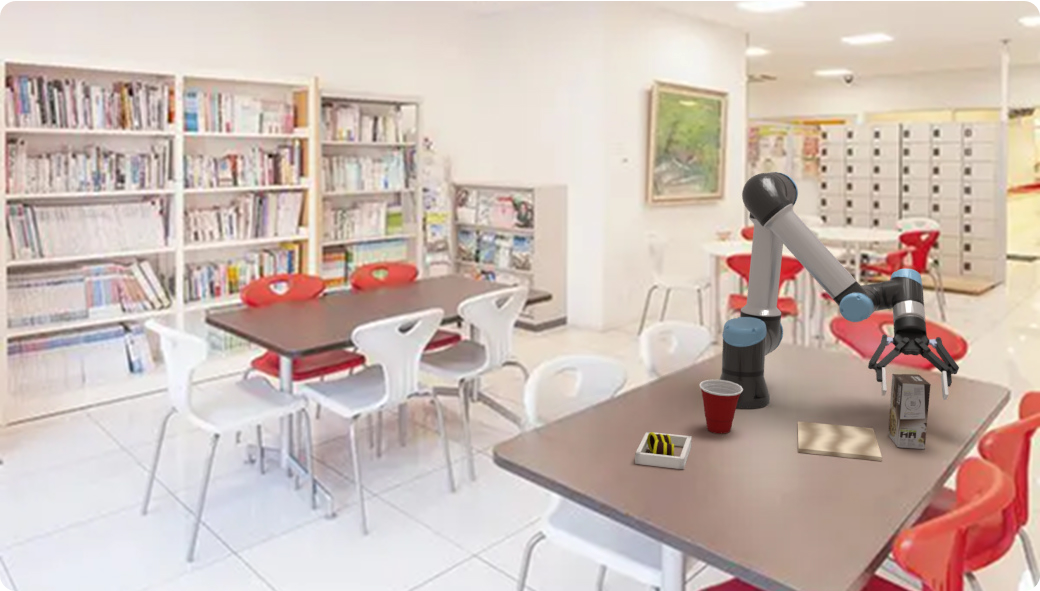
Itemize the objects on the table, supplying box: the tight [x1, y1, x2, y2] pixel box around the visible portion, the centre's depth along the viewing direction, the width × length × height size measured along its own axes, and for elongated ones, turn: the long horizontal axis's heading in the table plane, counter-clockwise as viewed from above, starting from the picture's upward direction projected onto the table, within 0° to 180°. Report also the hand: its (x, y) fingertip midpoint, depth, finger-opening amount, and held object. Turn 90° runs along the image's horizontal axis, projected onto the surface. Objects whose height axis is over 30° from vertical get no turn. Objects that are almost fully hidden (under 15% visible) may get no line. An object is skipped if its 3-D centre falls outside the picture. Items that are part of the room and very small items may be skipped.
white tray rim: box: [634, 431, 693, 470], centre depth 182 cm, size 11×15×2 cm
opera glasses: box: [647, 431, 675, 456], centre depth 181 cm, size 10×5×5 cm, turn 0°
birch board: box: [797, 421, 883, 462], centre depth 189 cm, size 18×20×1 cm
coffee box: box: [887, 373, 932, 450], centre depth 187 cm, size 9×6×16 cm
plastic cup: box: [699, 379, 743, 435], centre depth 197 cm, size 11×11×12 cm
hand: (914, 395), depth 189 cm, fingers open, 13 cm apart
